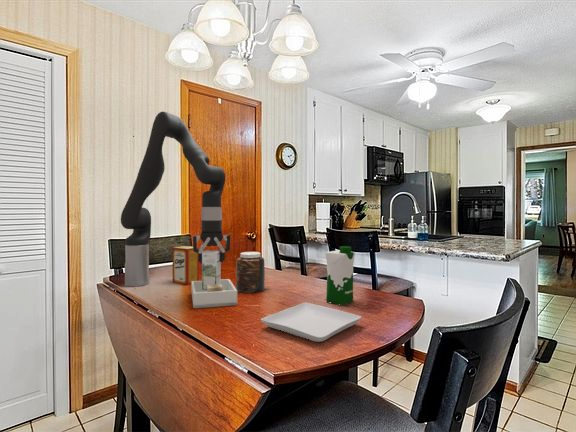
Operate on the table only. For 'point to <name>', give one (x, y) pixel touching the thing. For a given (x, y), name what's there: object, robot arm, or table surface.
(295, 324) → the salad plate
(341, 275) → the milk carton
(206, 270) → the syrup box
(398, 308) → the table surface
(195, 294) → the tote
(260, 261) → the jar
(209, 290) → the birch cube
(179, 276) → the baking soda box
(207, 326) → the table surface
